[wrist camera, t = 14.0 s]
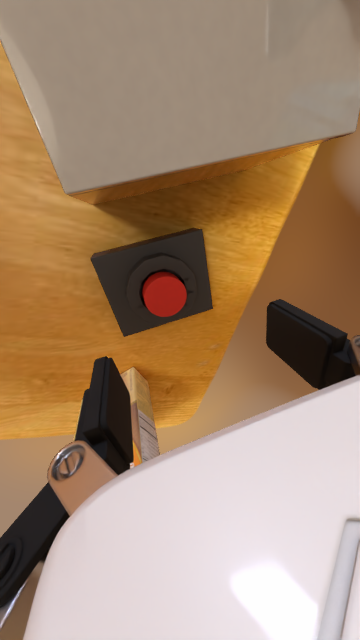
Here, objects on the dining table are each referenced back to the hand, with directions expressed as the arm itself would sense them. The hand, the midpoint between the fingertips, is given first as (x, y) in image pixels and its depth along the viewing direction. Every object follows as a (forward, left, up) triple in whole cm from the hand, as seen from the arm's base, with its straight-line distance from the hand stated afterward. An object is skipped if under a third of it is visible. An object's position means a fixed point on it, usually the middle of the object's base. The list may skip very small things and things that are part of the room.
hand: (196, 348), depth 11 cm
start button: (0, 0, -10) cm, 10 cm away
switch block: (0, 0, -14) cm, 14 cm away
